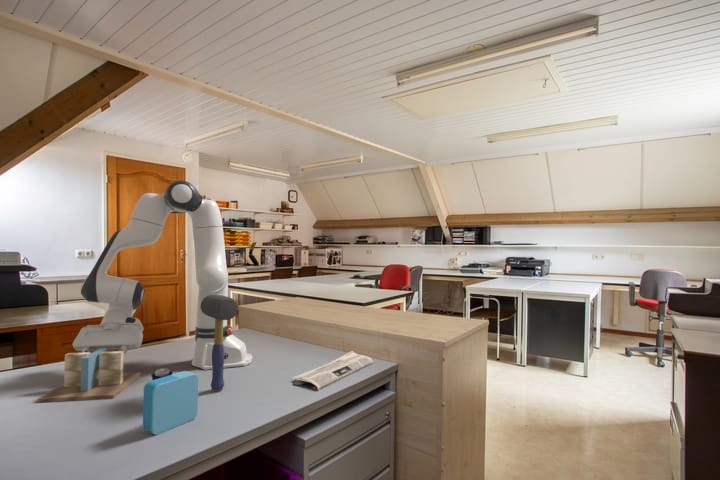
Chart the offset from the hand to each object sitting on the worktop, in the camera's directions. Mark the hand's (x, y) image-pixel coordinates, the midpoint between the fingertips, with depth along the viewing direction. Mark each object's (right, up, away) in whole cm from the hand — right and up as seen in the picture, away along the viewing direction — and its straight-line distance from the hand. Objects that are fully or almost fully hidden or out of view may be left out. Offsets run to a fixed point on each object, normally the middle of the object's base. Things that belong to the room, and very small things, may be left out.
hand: (100, 360), depth 122 cm
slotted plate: (+1, -6, -4) cm, 7 cm away
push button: (+29, -8, -17) cm, 35 cm away
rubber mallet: (+40, -8, -5) cm, 41 cm away
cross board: (+1, -7, -4) cm, 8 cm away
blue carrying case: (+37, -7, -28) cm, 47 cm away
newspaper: (+77, -9, +14) cm, 78 cm away
